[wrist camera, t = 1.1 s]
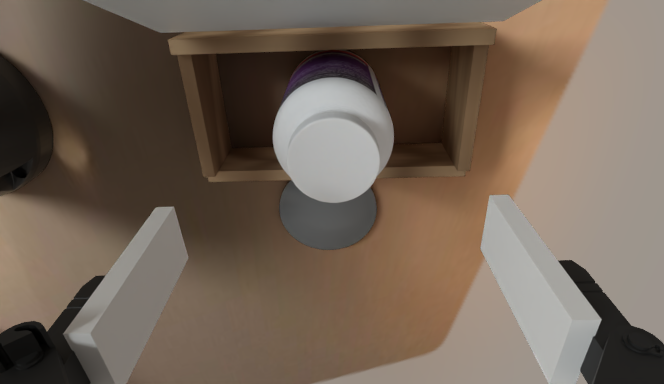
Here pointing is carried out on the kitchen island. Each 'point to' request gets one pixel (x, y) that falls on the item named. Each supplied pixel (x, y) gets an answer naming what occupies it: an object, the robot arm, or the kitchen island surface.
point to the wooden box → (463, 37)
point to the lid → (305, 13)
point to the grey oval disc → (326, 218)
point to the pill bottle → (333, 127)
